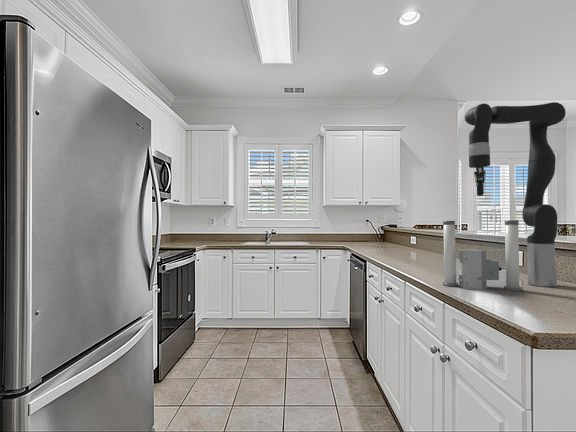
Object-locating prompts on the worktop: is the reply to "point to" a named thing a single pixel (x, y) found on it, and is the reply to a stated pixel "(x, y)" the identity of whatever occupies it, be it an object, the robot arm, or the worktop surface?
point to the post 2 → (512, 255)
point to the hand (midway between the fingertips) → (480, 195)
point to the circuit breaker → (477, 269)
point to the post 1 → (449, 254)
